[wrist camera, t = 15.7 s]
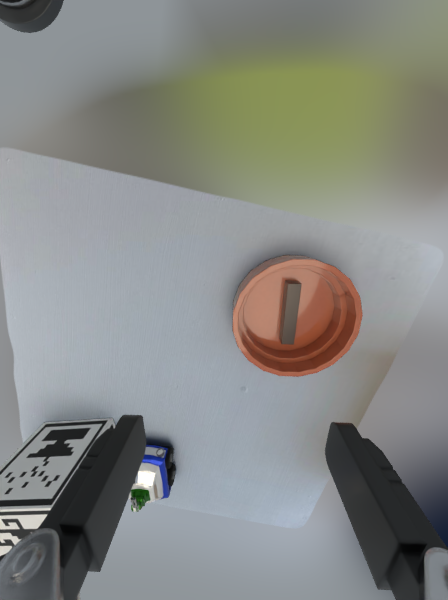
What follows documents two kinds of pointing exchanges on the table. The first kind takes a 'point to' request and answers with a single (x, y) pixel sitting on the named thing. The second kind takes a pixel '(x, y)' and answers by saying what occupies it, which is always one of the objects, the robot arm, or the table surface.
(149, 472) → the toy car
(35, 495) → the block
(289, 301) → the stick
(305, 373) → the bowl
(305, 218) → the table surface
